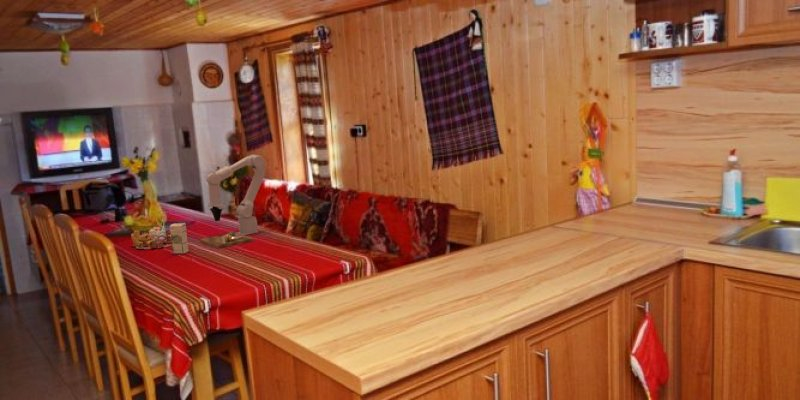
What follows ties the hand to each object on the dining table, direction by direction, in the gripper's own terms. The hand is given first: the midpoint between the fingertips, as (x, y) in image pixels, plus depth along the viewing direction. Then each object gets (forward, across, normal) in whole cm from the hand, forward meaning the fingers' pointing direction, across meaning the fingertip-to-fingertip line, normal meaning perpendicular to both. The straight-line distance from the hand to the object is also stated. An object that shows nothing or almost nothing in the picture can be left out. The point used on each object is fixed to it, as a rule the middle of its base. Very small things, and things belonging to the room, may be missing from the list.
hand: (217, 220), depth 335 cm
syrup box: (+10, +16, -27) cm, 33 cm away
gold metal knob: (+8, +20, -2) cm, 21 cm away
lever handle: (+8, +16, -1) cm, 18 cm away
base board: (+9, +12, -1) cm, 15 cm away
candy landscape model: (+10, -13, -28) cm, 33 cm away
